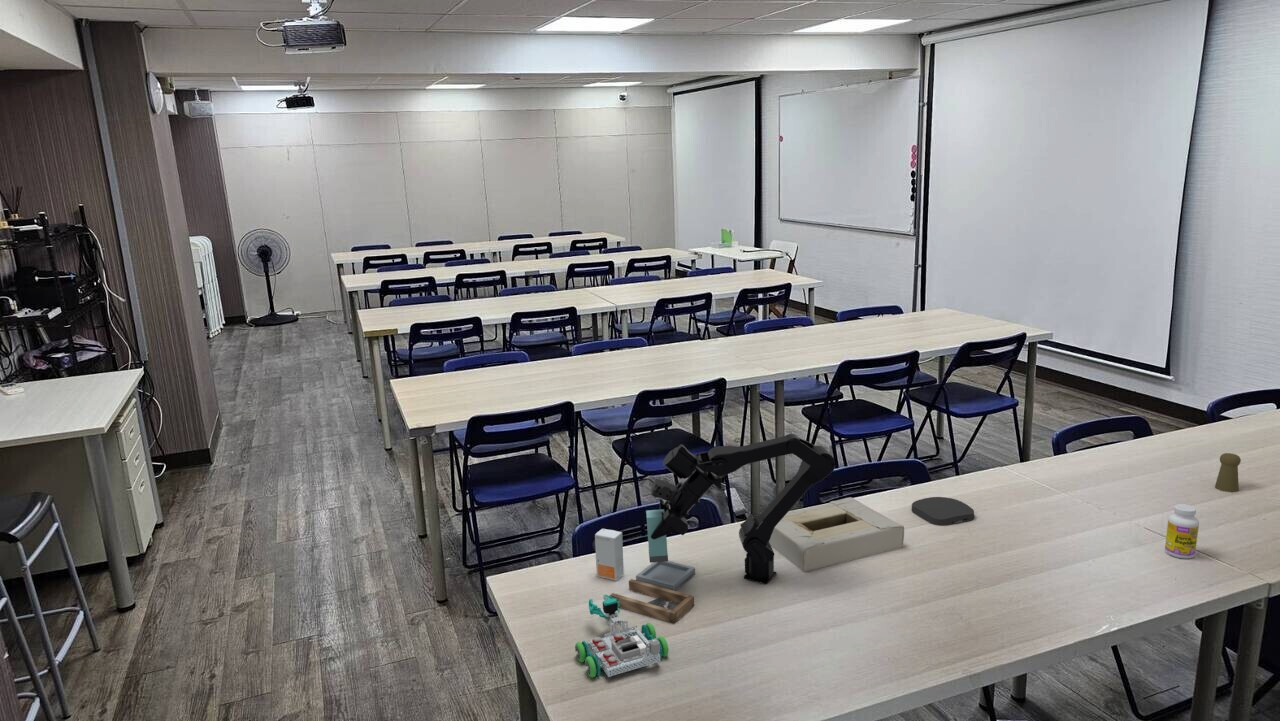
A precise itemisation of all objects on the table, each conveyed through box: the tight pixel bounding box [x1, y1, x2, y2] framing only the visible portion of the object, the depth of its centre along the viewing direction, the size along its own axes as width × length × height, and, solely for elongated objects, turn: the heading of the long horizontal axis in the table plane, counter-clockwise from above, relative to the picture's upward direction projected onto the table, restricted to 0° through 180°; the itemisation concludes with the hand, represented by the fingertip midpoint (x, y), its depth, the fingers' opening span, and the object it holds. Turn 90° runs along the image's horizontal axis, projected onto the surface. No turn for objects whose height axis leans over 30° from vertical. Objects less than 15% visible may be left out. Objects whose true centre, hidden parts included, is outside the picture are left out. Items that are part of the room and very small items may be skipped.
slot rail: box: [609, 578, 695, 625], centre depth 202 cm, size 18×9×2 cm, turn 57°
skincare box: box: [594, 528, 625, 582], centre depth 216 cm, size 6×4×12 cm
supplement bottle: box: [1164, 503, 1200, 560], centre depth 215 cm, size 7×7×13 cm
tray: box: [635, 560, 696, 592], centre depth 214 cm, size 11×11×2 cm
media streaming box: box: [911, 496, 975, 526], centre depth 247 cm, size 15×15×3 cm
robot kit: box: [574, 594, 669, 679], centre depth 184 cm, size 19×25×9 cm
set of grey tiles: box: [647, 597, 680, 610], centre depth 199 cm, size 9×7×1 cm
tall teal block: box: [645, 509, 669, 564], centre depth 210 cm, size 5×5×12 cm
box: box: [769, 496, 905, 572], centre depth 230 cm, size 23×8×32 cm
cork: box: [1214, 452, 1241, 493], centre depth 256 cm, size 6×6×11 cm
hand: (651, 534), depth 210 cm, fingers closed on tall teal block, 4 cm apart
